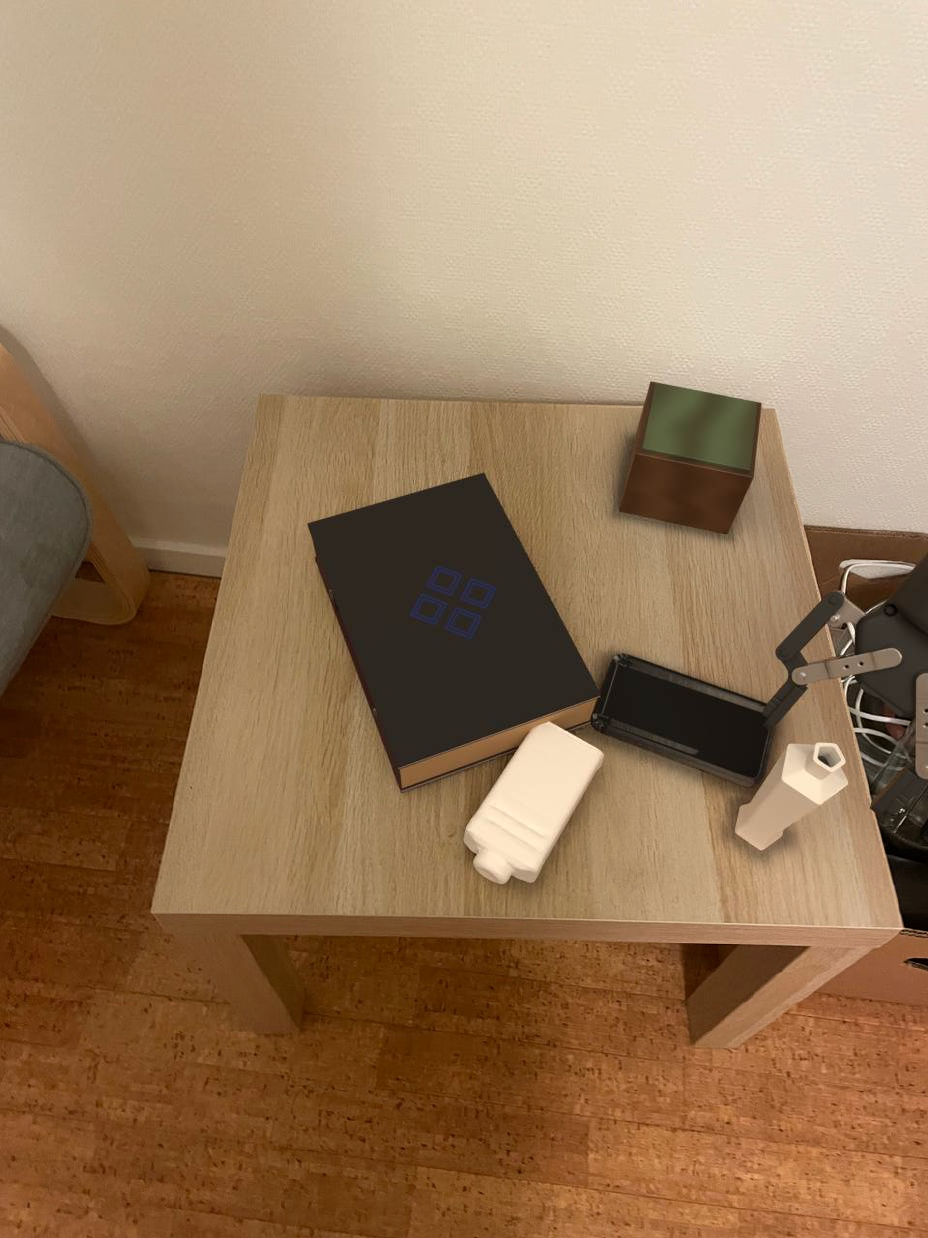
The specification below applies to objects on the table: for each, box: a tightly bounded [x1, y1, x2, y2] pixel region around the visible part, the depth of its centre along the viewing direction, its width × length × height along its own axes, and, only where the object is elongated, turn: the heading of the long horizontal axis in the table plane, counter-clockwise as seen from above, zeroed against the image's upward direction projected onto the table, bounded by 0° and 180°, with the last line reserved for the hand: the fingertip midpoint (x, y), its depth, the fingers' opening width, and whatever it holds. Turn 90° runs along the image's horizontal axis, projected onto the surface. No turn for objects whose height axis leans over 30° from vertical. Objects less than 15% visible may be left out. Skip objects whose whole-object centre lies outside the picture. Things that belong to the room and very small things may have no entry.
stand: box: [619, 380, 763, 535], centre depth 84 cm, size 11×10×9 cm
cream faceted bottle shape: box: [734, 741, 849, 851], centre depth 63 cm, size 5×4×15 cm
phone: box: [590, 652, 777, 788], centre depth 73 cm, size 8×1×15 cm
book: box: [306, 472, 601, 794], centre depth 75 cm, size 17×25×7 cm
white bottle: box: [462, 721, 605, 885], centre depth 67 cm, size 6×13×4 cm, turn 148°
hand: (819, 766), depth 58 cm, fingers open, 8 cm apart
